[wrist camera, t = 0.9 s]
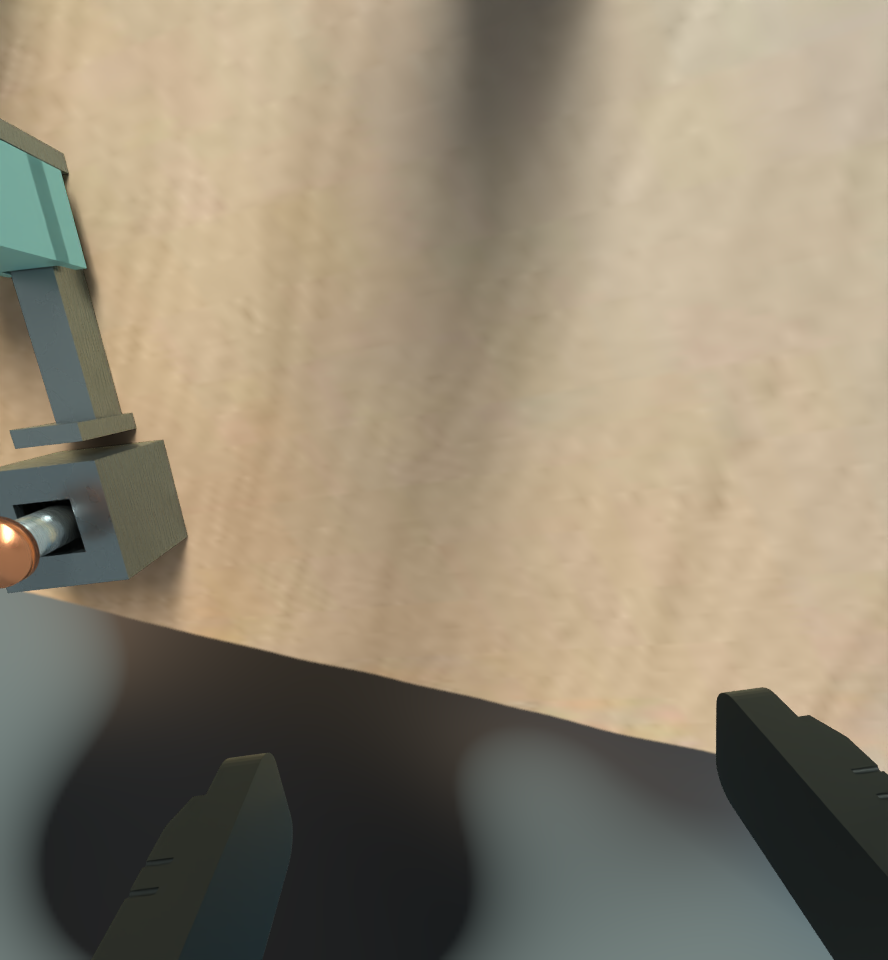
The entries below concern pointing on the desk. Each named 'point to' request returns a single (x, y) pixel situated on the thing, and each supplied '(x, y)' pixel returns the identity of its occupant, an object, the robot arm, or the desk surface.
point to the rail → (64, 339)
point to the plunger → (33, 540)
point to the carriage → (34, 215)
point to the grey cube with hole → (98, 510)
